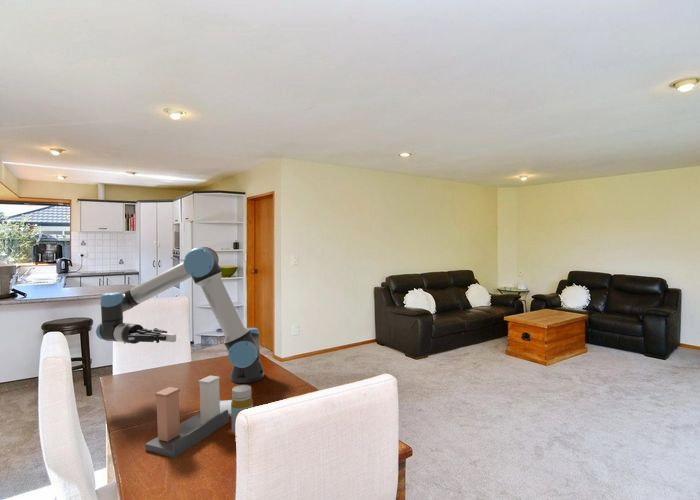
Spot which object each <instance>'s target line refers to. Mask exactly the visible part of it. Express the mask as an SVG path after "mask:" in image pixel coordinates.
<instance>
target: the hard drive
mask: <svg viewBox="0 0 700 500" xmlns="http://www.w3.org/2000/svg"><path fill="white" fill-rule="evenodd" d="M231 402H232V399H229V400H220V413H222V412H223V411H225V410H228V418H229V417H231Z"/></svg>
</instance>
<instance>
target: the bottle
mask: <svg viewBox="0 0 700 500" xmlns="http://www.w3.org/2000/svg"><path fill="white" fill-rule="evenodd" d="M231 397H232V399H231V400H232V402H231V416H230V417H231V434H232V435H233V436H235V419H236V416H237V414H238V413H239V412H240V411H242V410H244V409H248V408H251V407H253V408H254V401H253V398H252V386H251V385H249V384H240V385H236V386H234V387H232V390H231ZM235 437H236V436H235Z"/></svg>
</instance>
